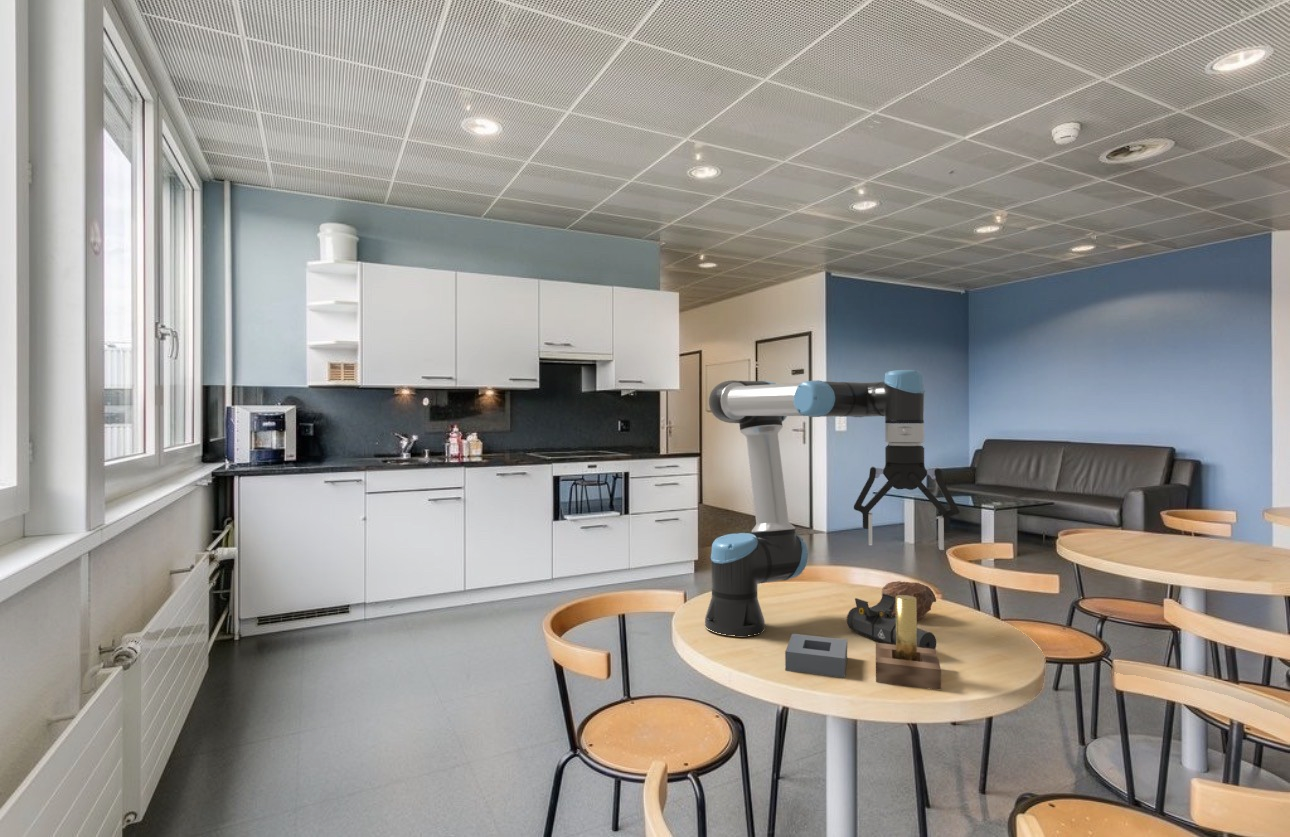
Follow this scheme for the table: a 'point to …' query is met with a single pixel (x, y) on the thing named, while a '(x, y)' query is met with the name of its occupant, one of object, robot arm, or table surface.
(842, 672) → the mount block
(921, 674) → the dock block
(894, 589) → the brown lumpy rounded lump
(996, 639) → the table surface
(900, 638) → the brass pin
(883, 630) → the laser sight
